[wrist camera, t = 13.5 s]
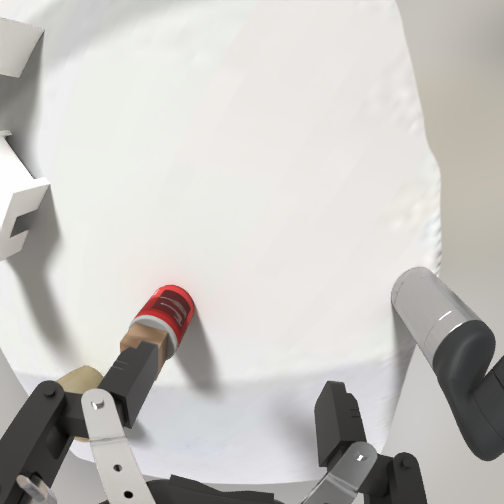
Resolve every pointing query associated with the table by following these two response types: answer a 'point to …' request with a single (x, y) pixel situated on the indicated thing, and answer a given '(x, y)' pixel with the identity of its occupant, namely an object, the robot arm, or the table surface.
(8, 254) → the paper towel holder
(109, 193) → the table surface
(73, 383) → the plant pot
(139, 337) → the walnut cube
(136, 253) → the table surface
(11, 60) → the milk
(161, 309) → the canned food
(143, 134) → the table surface
